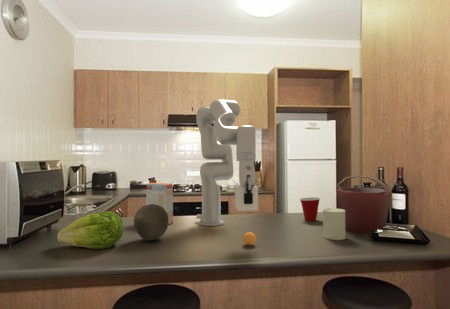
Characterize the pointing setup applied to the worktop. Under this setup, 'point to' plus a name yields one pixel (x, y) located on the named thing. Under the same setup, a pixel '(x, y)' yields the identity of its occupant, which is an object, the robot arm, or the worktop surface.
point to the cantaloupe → (151, 222)
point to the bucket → (364, 206)
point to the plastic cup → (310, 208)
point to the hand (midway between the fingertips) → (246, 201)
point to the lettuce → (93, 231)
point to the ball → (249, 238)
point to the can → (334, 223)
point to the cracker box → (161, 197)
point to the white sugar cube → (240, 198)
